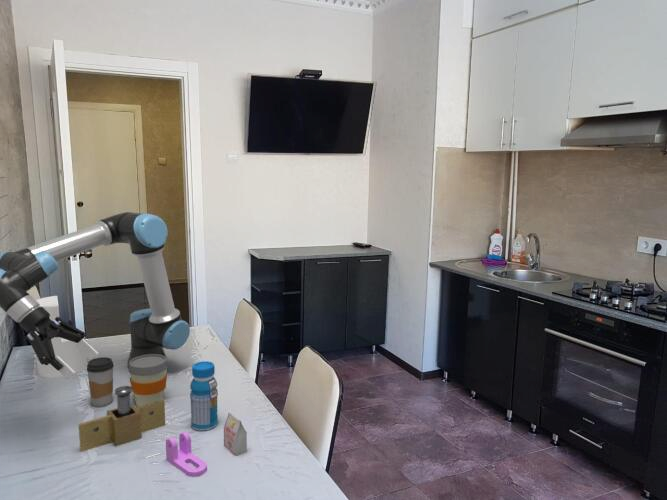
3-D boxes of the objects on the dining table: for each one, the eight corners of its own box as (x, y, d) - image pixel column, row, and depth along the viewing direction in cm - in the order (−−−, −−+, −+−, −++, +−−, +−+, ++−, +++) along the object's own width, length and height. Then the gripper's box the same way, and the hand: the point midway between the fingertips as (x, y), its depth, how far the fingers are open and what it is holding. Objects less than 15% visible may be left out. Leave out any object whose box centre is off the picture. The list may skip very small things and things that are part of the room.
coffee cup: (120, 399, 173) (118, 358, 170) (102, 410, 165) (100, 367, 163) (101, 395, 175) (99, 355, 173) (83, 406, 168) (80, 363, 165)
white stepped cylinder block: (37, 381, 186) (31, 308, 182) (37, 365, 201) (32, 298, 196) (88, 372, 195) (84, 303, 190) (85, 357, 210) (80, 293, 205)
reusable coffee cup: (176, 398, 175) (175, 357, 172) (149, 413, 164) (147, 370, 161) (149, 391, 180) (148, 351, 178) (121, 405, 169) (119, 363, 166)
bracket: (166, 460, 138) (165, 437, 137) (184, 452, 142) (183, 429, 141) (193, 479, 130) (192, 455, 129) (211, 470, 134) (210, 446, 133)
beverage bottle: (194, 434, 152) (192, 372, 148) (188, 421, 159) (186, 362, 156) (221, 428, 155) (220, 367, 152) (214, 416, 163) (213, 358, 160)
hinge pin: (130, 430, 153) (128, 384, 150) (135, 436, 149) (133, 389, 147) (115, 435, 150) (112, 388, 148) (119, 441, 146) (117, 394, 144)
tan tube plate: (160, 419, 160) (159, 396, 158) (169, 428, 154) (168, 404, 153) (77, 445, 144) (75, 419, 143) (84, 456, 139) (82, 430, 137)
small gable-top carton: (235, 441, 148) (234, 410, 146) (246, 451, 143) (246, 419, 141) (224, 445, 146) (223, 414, 144) (235, 456, 141) (235, 423, 139)
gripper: (46, 309, 156) (95, 356, 159) (-9, 338, 132) (51, 393, 134) (62, 294, 155) (111, 342, 158) (9, 320, 131) (69, 375, 133)
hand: (84, 365), depth 146 cm, fingers open, 13 cm apart
